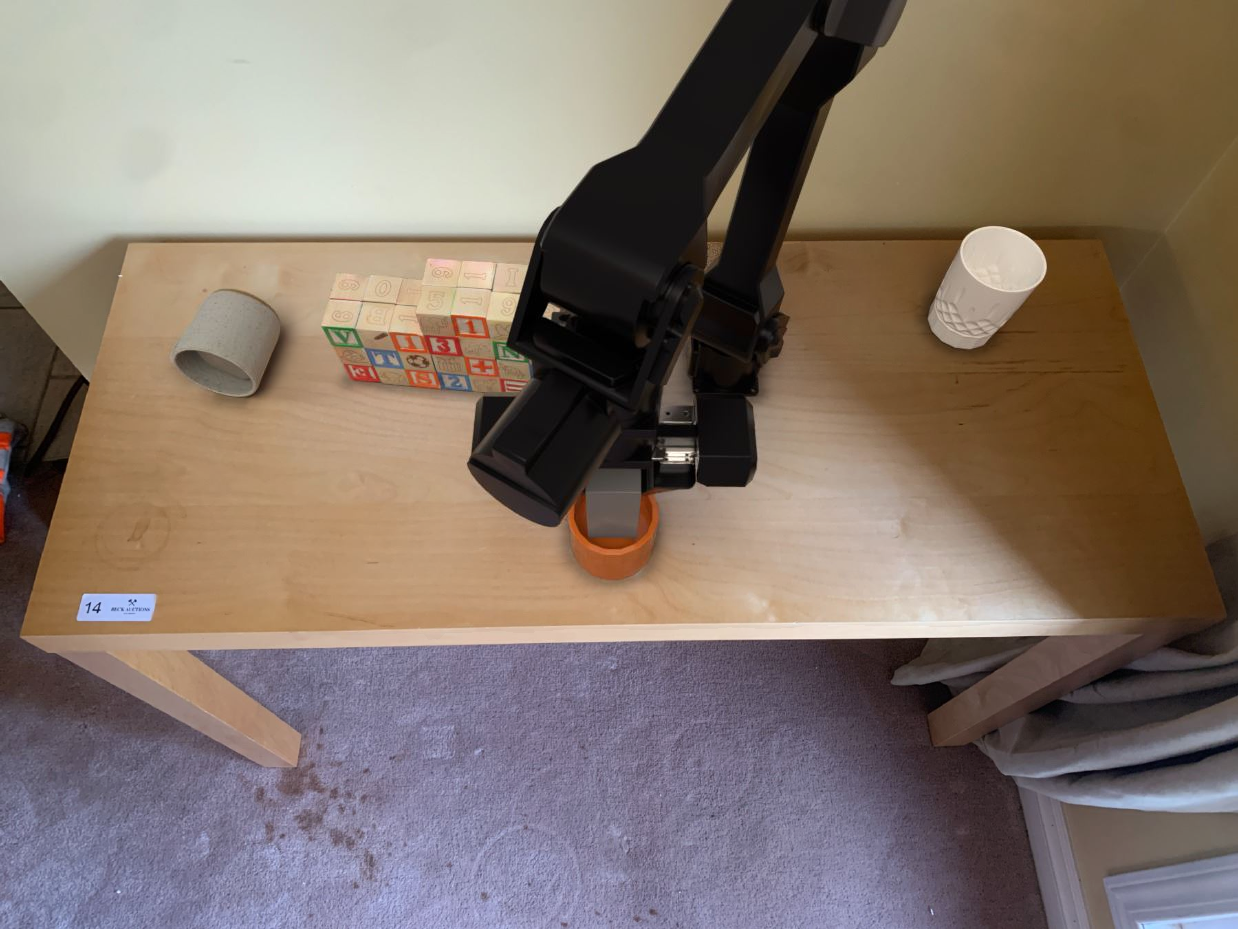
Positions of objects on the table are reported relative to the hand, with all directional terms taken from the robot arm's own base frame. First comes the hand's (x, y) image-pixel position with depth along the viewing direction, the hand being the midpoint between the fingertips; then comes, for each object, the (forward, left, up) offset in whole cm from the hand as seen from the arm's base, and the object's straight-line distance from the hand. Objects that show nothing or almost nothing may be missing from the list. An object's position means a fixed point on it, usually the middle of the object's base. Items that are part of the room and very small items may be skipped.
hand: (613, 490), depth 60 cm
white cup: (-36, -24, -11) cm, 45 cm away
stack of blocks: (+15, -19, -11) cm, 26 cm away
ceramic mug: (+38, -18, -11) cm, 44 cm away
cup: (0, 0, -11) cm, 11 cm away
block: (0, 0, -5) cm, 5 cm away
